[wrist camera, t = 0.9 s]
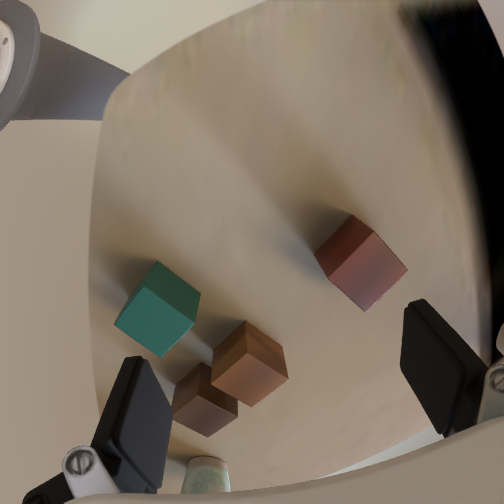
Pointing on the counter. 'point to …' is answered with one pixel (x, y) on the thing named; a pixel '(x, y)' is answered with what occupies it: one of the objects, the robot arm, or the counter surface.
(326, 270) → the dark cherry block
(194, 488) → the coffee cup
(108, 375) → the counter surface
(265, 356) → the oak block
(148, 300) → the teal block
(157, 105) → the counter surface
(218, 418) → the walnut block
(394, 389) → the counter surface
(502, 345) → the travel mug
